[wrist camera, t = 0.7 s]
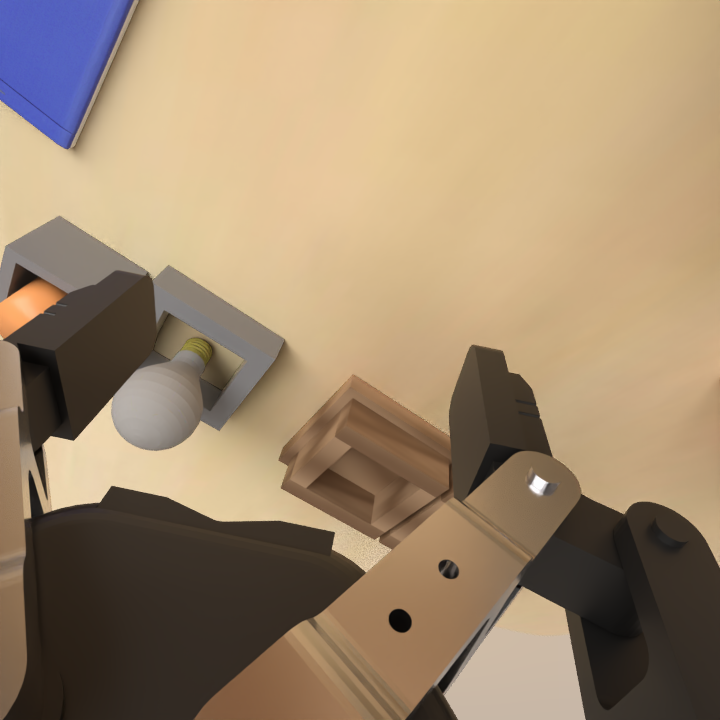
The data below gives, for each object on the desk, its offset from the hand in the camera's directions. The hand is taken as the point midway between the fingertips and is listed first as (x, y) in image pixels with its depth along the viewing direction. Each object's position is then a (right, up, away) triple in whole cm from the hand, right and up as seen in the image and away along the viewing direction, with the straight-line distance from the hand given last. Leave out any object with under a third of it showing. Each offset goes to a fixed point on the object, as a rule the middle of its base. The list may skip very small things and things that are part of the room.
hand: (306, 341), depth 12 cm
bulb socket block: (-14, +3, +24) cm, 28 cm away
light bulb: (-11, +1, +25) cm, 28 cm away
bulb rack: (+6, -11, +31) cm, 33 cm away
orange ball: (-19, +3, +20) cm, 28 cm away
